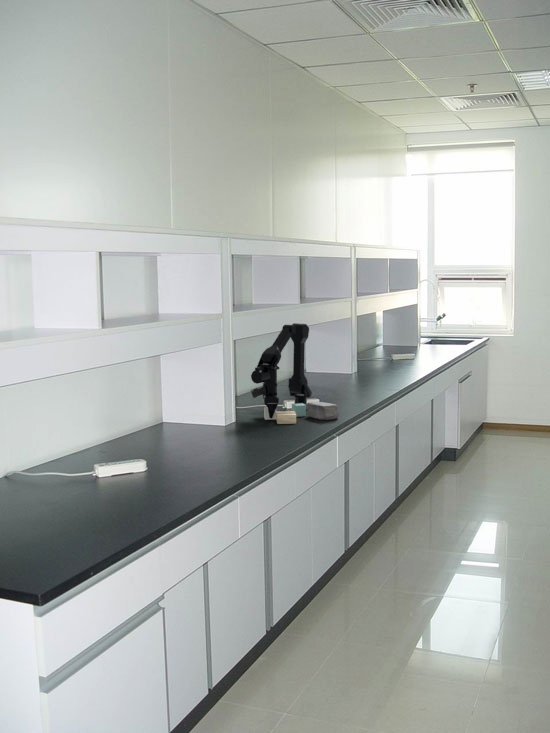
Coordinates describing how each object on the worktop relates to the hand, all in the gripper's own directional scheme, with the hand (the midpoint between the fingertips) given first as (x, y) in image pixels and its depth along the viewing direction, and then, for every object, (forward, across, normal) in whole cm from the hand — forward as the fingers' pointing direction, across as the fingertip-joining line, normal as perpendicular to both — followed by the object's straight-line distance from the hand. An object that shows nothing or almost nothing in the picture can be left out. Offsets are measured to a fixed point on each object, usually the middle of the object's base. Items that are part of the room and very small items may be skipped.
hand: (270, 415), depth 352 cm
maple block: (+1, +7, +6) cm, 10 cm away
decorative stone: (+1, +1, +22) cm, 23 cm away
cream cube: (+1, 0, 0) cm, 1 cm away
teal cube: (+1, -6, +13) cm, 14 cm away
